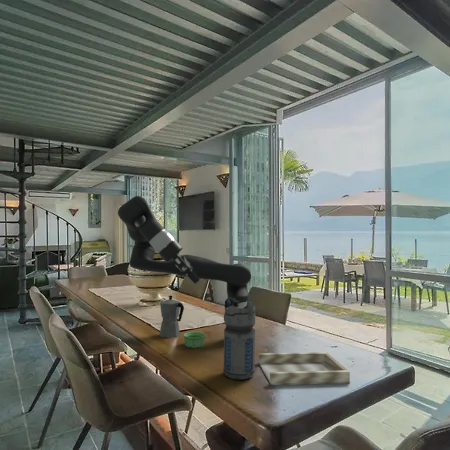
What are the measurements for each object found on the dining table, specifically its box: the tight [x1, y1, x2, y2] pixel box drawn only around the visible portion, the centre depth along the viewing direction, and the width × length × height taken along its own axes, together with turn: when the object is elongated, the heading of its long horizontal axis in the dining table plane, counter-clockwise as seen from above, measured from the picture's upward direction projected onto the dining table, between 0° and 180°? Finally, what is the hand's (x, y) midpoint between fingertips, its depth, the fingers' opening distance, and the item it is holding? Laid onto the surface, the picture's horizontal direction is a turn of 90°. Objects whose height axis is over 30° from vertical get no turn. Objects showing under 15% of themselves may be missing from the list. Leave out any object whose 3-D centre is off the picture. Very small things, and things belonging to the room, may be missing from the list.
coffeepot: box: [159, 295, 185, 339], centre depth 157 cm, size 15×9×18 cm, turn 49°
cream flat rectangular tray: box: [258, 351, 351, 386], centre depth 116 cm, size 25×18×4 cm
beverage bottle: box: [223, 297, 256, 381], centre depth 115 cm, size 10×13×25 cm
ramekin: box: [183, 331, 206, 349], centre depth 144 cm, size 9×9×4 cm
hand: (197, 280), depth 119 cm, fingers open, 8 cm apart
